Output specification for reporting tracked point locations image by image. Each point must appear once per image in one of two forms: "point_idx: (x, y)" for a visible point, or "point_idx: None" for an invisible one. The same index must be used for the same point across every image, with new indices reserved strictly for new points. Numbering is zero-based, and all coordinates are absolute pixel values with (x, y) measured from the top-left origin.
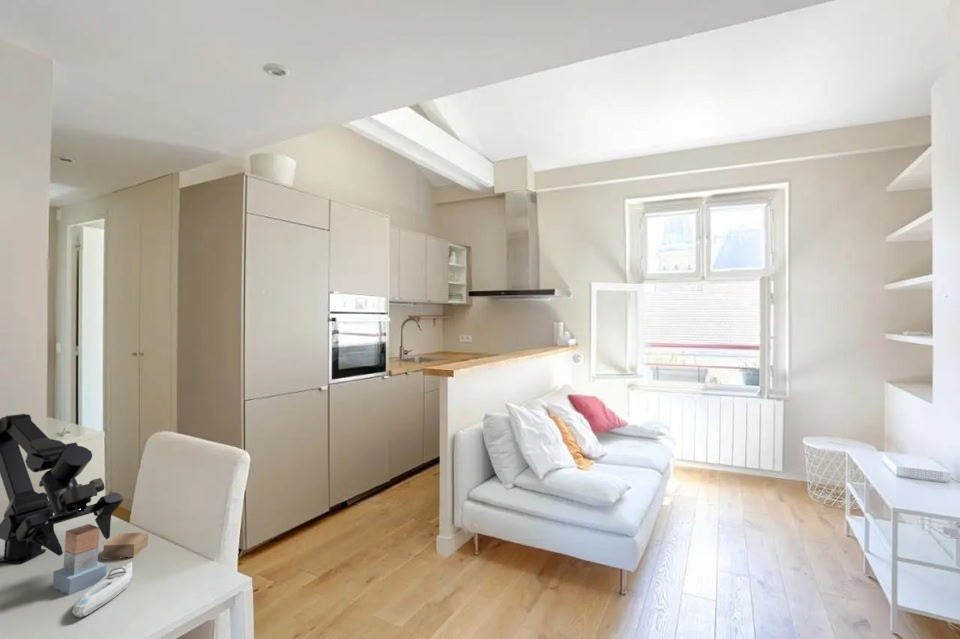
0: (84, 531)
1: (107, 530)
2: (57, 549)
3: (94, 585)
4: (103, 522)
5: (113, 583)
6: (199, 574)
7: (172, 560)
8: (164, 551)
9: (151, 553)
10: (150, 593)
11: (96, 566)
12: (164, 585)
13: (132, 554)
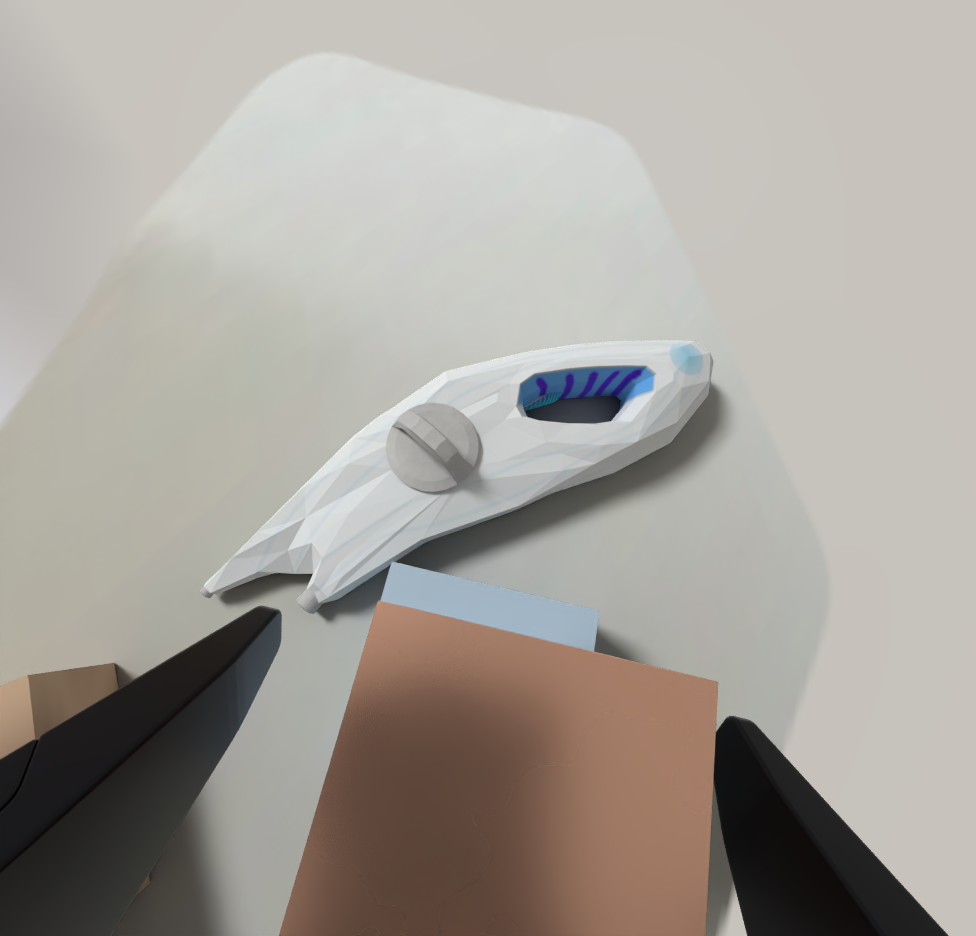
0: (567, 715)
1: (218, 657)
2: (799, 779)
3: (533, 488)
4: (63, 869)
5: (529, 364)
6: (273, 198)
7: (141, 398)
8: (13, 533)
9: (44, 594)
10: (454, 276)
11: (424, 609)
12: (386, 268)
13: (99, 672)
